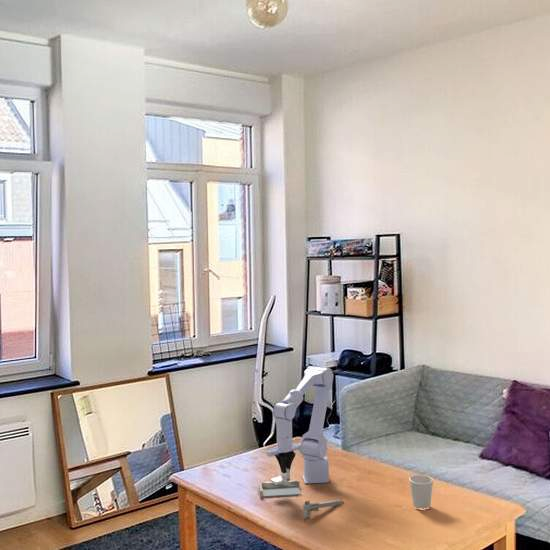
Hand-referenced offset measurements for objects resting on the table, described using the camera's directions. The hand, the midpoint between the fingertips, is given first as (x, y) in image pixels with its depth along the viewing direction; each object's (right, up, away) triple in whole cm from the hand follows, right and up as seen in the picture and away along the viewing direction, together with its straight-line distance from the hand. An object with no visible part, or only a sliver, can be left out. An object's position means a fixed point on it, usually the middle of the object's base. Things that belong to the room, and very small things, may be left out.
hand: (285, 472), depth 244 cm
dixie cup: (+47, -8, -14) cm, 50 cm away
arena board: (-2, -8, +3) cm, 9 cm away
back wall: (-2, -8, +7) cm, 11 cm away
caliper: (+13, -9, -15) cm, 22 cm away
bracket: (-2, -3, -1) cm, 4 cm away
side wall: (-9, -9, +2) cm, 13 cm away
